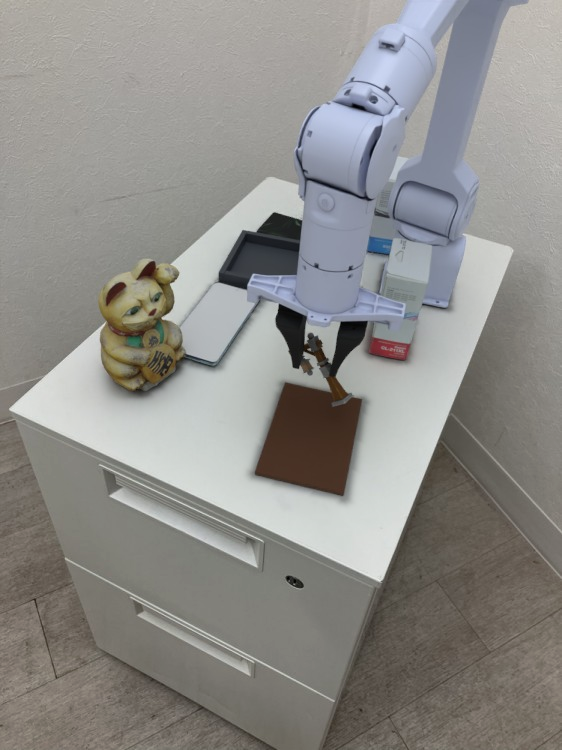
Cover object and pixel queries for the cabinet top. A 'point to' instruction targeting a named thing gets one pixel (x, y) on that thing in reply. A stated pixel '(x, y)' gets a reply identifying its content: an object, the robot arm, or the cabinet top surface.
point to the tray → (259, 258)
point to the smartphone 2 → (282, 226)
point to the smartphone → (215, 322)
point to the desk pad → (310, 439)
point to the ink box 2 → (403, 295)
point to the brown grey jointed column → (323, 369)
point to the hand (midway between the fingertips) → (315, 366)
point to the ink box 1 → (384, 216)
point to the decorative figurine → (140, 326)
